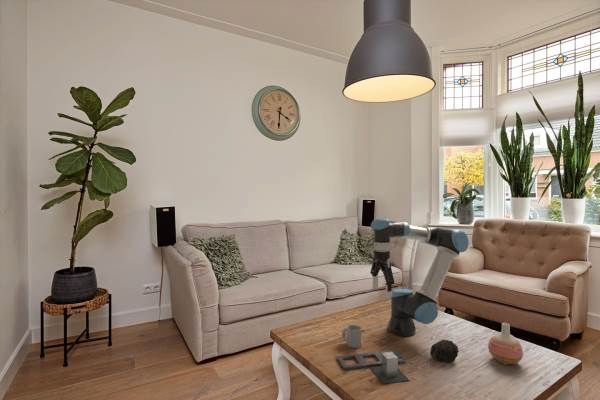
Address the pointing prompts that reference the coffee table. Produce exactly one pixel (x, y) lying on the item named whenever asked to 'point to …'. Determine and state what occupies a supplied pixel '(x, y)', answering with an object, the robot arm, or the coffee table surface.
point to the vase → (505, 346)
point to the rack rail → (362, 361)
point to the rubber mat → (388, 380)
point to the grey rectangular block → (389, 364)
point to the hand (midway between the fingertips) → (381, 293)
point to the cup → (352, 336)
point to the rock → (444, 351)
